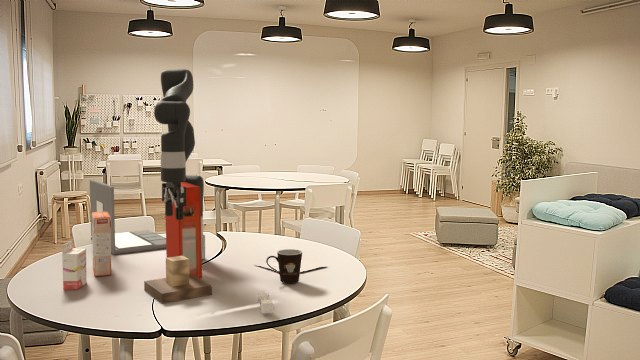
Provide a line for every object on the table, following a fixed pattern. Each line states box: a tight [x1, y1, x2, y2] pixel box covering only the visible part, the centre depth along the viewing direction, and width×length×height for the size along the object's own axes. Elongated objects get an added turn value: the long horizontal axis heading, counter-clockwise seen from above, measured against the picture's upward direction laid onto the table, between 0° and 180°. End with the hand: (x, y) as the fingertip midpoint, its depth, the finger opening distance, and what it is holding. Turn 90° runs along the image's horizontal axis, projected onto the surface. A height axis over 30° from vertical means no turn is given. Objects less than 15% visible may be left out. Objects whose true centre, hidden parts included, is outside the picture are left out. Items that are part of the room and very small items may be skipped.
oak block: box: [165, 256, 189, 287], centre depth 175 cm, size 6×6×8 cm
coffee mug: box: [265, 248, 303, 284], centre depth 191 cm, size 12×9×10 cm
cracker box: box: [91, 212, 112, 277], centre depth 199 cm, size 14×6×21 cm, turn 24°
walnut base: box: [143, 274, 213, 304], centre depth 176 cm, size 16×16×3 cm
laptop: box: [89, 178, 166, 256], centre depth 243 cm, size 35×26×28 cm
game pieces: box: [257, 291, 274, 314], centre depth 163 cm, size 12×3×3 cm, turn 12°
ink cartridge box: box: [61, 239, 88, 291], centre depth 181 cm, size 9×5×15 cm, turn 5°
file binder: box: [165, 182, 203, 279], centre depth 196 cm, size 8×17×32 cm, turn 30°
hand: (174, 217), depth 174 cm, fingers open, 8 cm apart
